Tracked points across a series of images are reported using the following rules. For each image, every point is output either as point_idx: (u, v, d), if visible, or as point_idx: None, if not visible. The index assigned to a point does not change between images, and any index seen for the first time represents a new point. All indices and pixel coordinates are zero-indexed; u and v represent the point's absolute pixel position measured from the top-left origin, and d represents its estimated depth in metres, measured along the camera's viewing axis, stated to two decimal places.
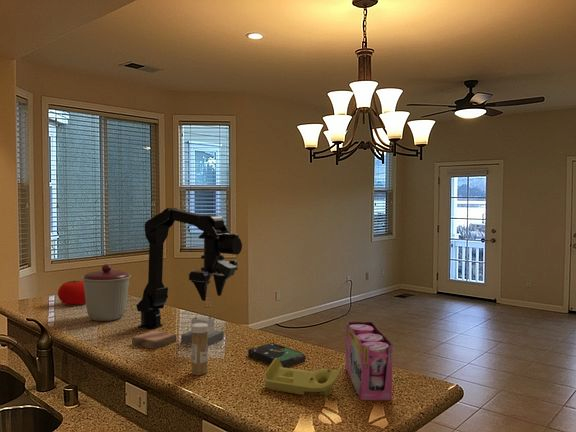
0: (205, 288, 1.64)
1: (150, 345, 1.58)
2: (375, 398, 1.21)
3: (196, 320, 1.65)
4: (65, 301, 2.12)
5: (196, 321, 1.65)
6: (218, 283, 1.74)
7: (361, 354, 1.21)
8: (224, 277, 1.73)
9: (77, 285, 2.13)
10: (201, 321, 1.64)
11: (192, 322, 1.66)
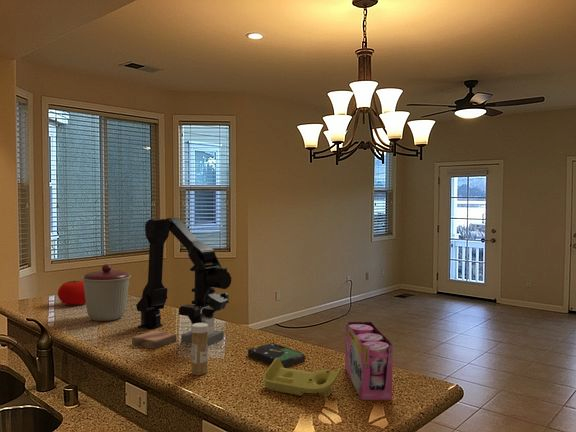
0: (200, 321, 1.63)
1: (150, 345, 1.58)
2: (375, 398, 1.21)
3: None
4: (65, 301, 2.12)
5: None
6: (206, 316, 1.70)
7: (361, 354, 1.21)
8: (212, 311, 1.69)
9: (77, 285, 2.13)
10: (201, 321, 1.64)
11: None
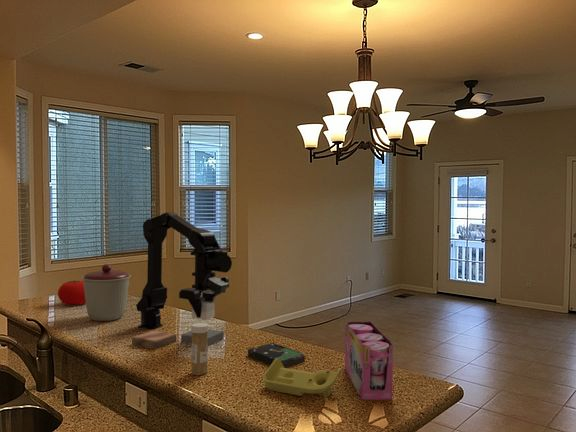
0: (200, 304, 1.63)
1: (150, 345, 1.58)
2: (376, 398, 1.21)
3: None
4: (65, 301, 2.12)
5: None
6: None
7: (362, 354, 1.21)
8: (212, 295, 1.68)
9: (77, 285, 2.13)
10: None
11: None
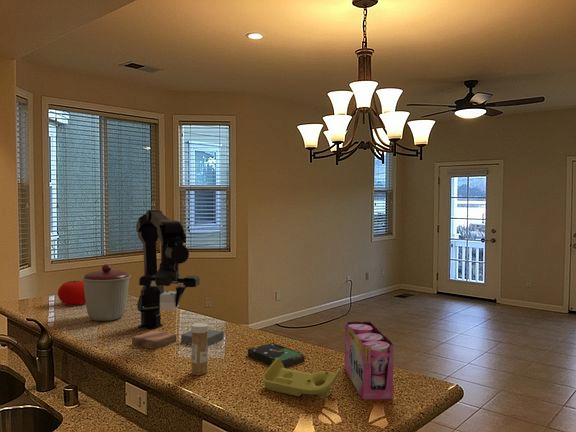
0: (158, 293, 1.63)
1: (150, 345, 1.58)
2: (376, 397, 1.21)
3: None
4: (65, 301, 2.12)
5: None
6: None
7: (362, 354, 1.21)
8: None
9: (77, 285, 2.13)
10: None
11: None
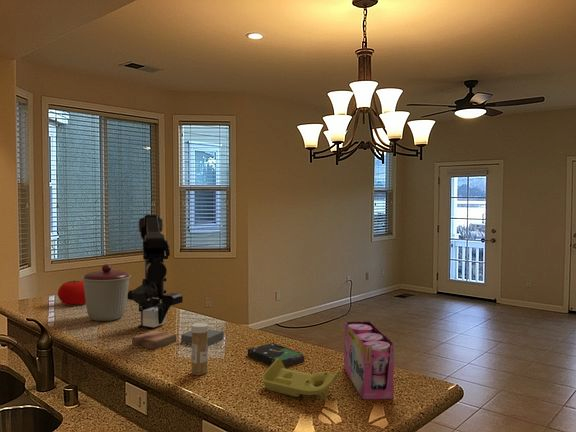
0: (144, 308, 1.63)
1: (150, 345, 1.58)
2: (377, 397, 1.21)
3: None
4: (65, 301, 2.12)
5: None
6: None
7: (363, 354, 1.22)
8: None
9: (77, 285, 2.13)
10: None
11: None
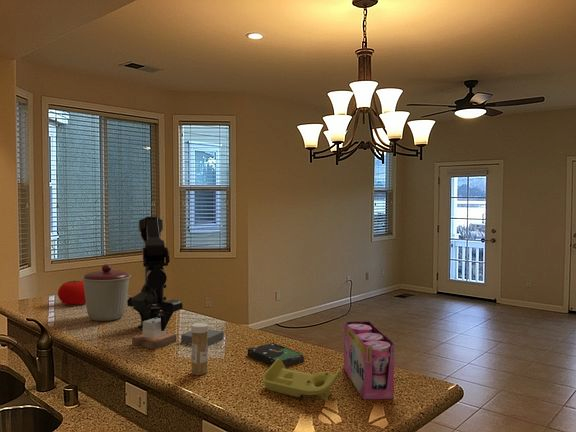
0: (141, 315, 1.64)
1: (150, 345, 1.58)
2: (377, 397, 1.21)
3: None
4: (65, 301, 2.12)
5: None
6: None
7: (363, 353, 1.22)
8: None
9: (77, 285, 2.13)
10: None
11: None
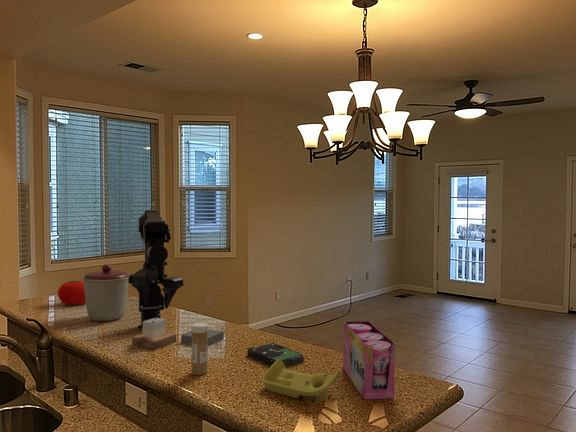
0: (140, 292, 1.64)
1: (150, 345, 1.58)
2: (378, 397, 1.21)
3: None
4: (65, 301, 2.12)
5: None
6: None
7: (364, 353, 1.22)
8: None
9: (77, 285, 2.13)
10: None
11: None
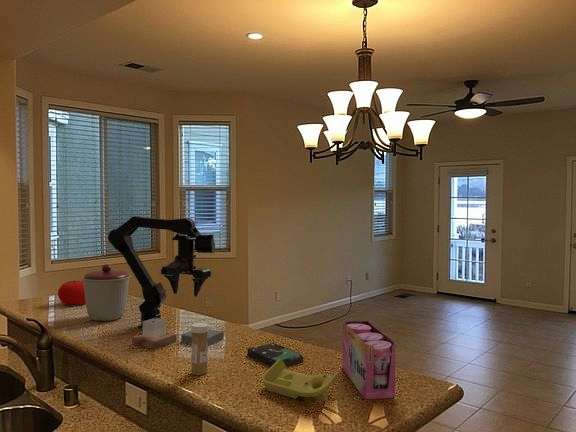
0: (171, 282, 1.83)
1: (150, 345, 1.58)
2: (379, 397, 1.22)
3: None
4: (65, 301, 2.12)
5: None
6: None
7: (365, 353, 1.22)
8: None
9: (77, 285, 2.13)
10: None
11: None
